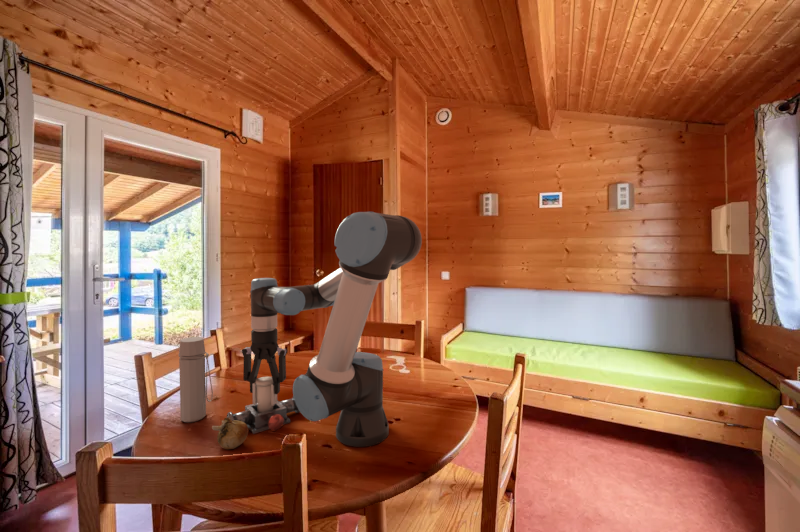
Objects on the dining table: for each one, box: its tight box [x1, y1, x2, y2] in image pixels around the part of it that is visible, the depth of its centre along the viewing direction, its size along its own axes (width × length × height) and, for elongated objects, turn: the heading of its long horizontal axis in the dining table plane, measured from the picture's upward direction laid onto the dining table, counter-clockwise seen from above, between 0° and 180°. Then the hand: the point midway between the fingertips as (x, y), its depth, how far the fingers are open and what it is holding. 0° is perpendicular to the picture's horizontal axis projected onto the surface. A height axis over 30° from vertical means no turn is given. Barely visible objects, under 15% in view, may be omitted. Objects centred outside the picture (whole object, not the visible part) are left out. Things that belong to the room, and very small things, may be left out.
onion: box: [211, 417, 249, 450], centre depth 98 cm, size 8×8×8 cm
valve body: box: [226, 395, 301, 435], centre depth 111 cm, size 14×21×6 cm
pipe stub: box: [256, 376, 273, 414], centre depth 112 cm, size 5×5×12 cm
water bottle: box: [177, 336, 214, 423], centre depth 114 cm, size 9×8×25 cm
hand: (265, 403), depth 112 cm, fingers closed on pipe stub, 5 cm apart
